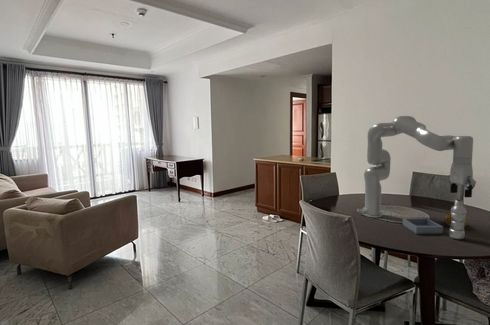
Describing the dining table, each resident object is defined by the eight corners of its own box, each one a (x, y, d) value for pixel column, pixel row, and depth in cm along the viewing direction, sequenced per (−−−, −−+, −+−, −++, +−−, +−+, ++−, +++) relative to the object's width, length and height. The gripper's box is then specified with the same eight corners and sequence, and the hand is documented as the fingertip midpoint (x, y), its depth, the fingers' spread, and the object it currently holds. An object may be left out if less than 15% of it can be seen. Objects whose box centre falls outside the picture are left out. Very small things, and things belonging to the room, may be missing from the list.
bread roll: (441, 221, 172) (442, 208, 171) (460, 222, 168) (461, 209, 167) (447, 228, 160) (448, 214, 159) (468, 230, 156) (470, 216, 155)
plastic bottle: (457, 235, 150) (460, 198, 147) (467, 240, 143) (470, 201, 140) (445, 235, 149) (447, 198, 147) (455, 241, 143) (458, 202, 140)
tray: (416, 234, 153) (416, 227, 152) (402, 225, 166) (402, 218, 166) (442, 233, 152) (443, 226, 152) (426, 224, 166) (427, 218, 166)
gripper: (442, 159, 150) (441, 191, 152) (467, 163, 132) (465, 199, 134) (457, 158, 149) (455, 190, 151) (484, 162, 132) (482, 198, 134)
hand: (460, 194), depth 143 cm, fingers open, 9 cm apart
